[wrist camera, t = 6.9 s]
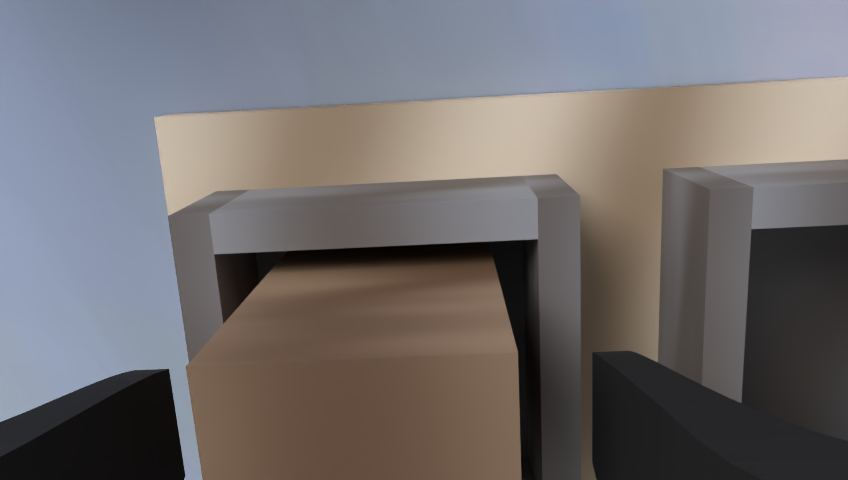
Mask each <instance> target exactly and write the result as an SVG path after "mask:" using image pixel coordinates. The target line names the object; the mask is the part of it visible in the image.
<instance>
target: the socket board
mask: <svg viewBox="0 0 848 480" xmlns="http://www.w3.org/2000/svg"><path fill="white" fill-rule="evenodd" d="M154 121H155V127H156V134H157V141H158V148H159V155H160V162H161V169H162V176H163V182H164V189H165V196H166V203H167V210H168V220H169V227H170V234H171V241H172V248H173V255H174V262H175V268H176V275H177V282H178V289H179V296H180V303H181V310H182V316H183V323H184V330H185V337H186V344H187V351H188V358H189V362H190V361H191V360H192V359H193V358H194V357H195V356H196V355H197V353H198V352H199V351H200V350H201V349H202V348H203V347H204V345H205V344H206V343H207V342H208V341H209V340H210V339H211V337H212V336H213V335H214V334H215V333H216V332H217V331H218V330H219V328H220V327H221V326H222V325H223V324H224V323H225V322H226V320H227V319H228V318H229V317H230V316H231V315H232V314H233V312H234V311H235V310H236V309H237V308H238V307H239V306H240V305H241V303H242V302H243V301H244V300H245V299H246V298H247V297H248V295H249V294H250V293H251V292H252V291H253V290H254V289H255V288H256V286H257V285H258V284H259V283H260V282H261V281H262V280H263V278H264V277H265V276H266V275H267V274H268V273H269V272H270V270H271V269H272V268H273V267H274V266H275V265H276V264H277V263H278V261H279V260H280V259H281V258H282V257H283V256H284V255H285V253H286V252H287V251H296V250H318V249H339V248H360V247H382V246H403V245H424V244H446V243H467V242H488V241H489V244H490V248H491V251H492V255H493V259H494V263H495V267H496V270H497V274H498V278H499V282H500V286H501V290H502V293H503V297H504V301H505V305H506V309H507V313H508V316H509V320H510V324H511V328H512V332H513V335H514V339H515V343H516V347H517V351H518V371H519V408H520V444H521V480H596V476H595V472H594V468H593V464H592V352H609V351H632V352H636V353H638V354H641V355H643V356H645V357H647V358H649V359H651V360H654V361H656V362H658V363H660V364H662V365H664V366H665V367H667V368H669V369H671V370H673V371H675V372H677V373H679V374H681V375H683V376H685V377H687V378H689V379H691V380H693V381H695V382H697V383H699V384H701V385H703V386H705V387H707V388H709V389H711V390H713V391H715V392H717V393H720V394H722V395H724V396H726V397H728V398H730V399H733V400H735V401H737V402H740V403H742V404H744V405H747V406H749V407H751V408H754V409H756V410H758V411H761V412H763V413H766V414H768V415H771V416H773V417H776V418H779V419H781V420H784V421H787V422H790V423H793V424H796V425H799V426H802V427H805V428H808V429H811V430H814V431H817V432H819V433H822V434H826V435H829V436H832V437H836V438H839V439H843V440H846V441H848V77H833V78H815V79H797V80H779V81H761V82H743V83H725V84H707V85H689V86H671V87H653V88H635V89H617V90H599V91H581V92H563V93H545V94H527V95H509V96H491V97H473V98H455V99H437V100H419V101H401V102H383V103H365V104H347V105H329V106H311V107H293V108H275V109H257V110H239V111H221V112H203V113H185V114H171V115H164V116H158V117H154Z"/></svg>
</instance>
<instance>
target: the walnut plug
mask: <svg viewBox="0 0 848 480" xmlns="http://www.w3.org/2000/svg"><path fill="white" fill-rule="evenodd" d="M186 370H187V377H188V384H189V391H190V397H191V404H192V411H193V417H194V424H195V431H196V437H197V444H198V451H199V458H200V464H201V471H202V478H203V480H521V444H520V408H519V371H518V351H517V347H516V343H515V339H514V335H513V332H512V328H511V324H510V320H509V316H508V313H507V309H506V305H505V301H504V297H503V293H502V290H501V286H500V282H499V278H498V274H497V270H496V267H495V263H494V259H493V255H492V251H491V248H490V244H489V241H488V242H467V243H446V244H424V245H403V246H382V247H360V248H339V249H318V250H296V251H287V252H286V253H285V255H284V256H283V257H282V258H281V259H280V260H279V261H278V263H277V264H276V265H275V266H274V267H273V268H272V269H271V270H270V272H269V273H268V274H267V275H266V276H265V277H264V278H263V280H262V281H261V282H260V283H259V284H258V285H257V286H256V288H255V289H254V290H253V291H252V292H251V293H250V294H249V295H248V297H247V298H246V299H245V300H244V301H243V302H242V303H241V305H240V306H239V307H238V308H237V309H236V310H235V311H234V312H233V314H232V315H231V316H230V317H229V318H228V319H227V320H226V322H225V323H224V324H223V325H222V326H221V327H220V328H219V330H218V331H217V332H216V333H215V334H214V335H213V336H212V337H211V339H210V340H209V341H208V342H207V343H206V344H205V345H204V347H203V348H202V349H201V350H200V351H199V352H198V353H197V355H196V356H195V357H194V358H193V359H192V360H191V361H190V362H189V364H188V365H187V366H186Z"/></svg>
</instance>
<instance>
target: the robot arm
mask: <svg viewBox="0 0 848 480" xmlns="http://www.w3.org/2000/svg"><path fill="white" fill-rule="evenodd" d="M592 464H593V468H594V472H595V476H596V480H848V441H846V440H843V439H839V438H836V437H832V436H829V435H826V434H822V433H819V432H817V431H814V430H811V429H808V428H805V427H802V426H799V425H796V424H793V423H790V422H787V421H784V420H781V419H779V418H776V417H773V416H771V415H768V414H766V413H763V412H761V411H758V410H756V409H754V408H751V407H749V406H747V405H744V404H742V403H740V402H737V401H735V400H733V399H730V398H728V397H726V396H724V395H722V394H720V393H717V392H715V391H713V390H711V389H709V388H707V387H705V386H703V385H701V384H699V383H697V382H695V381H693V380H691V379H689V378H687V377H685V376H683V375H681V374H679V373H677V372H675V371H673V370H671V369H669V368H667V367H665V366H664V365H662V364H660V363H658V362H656V361H654V360H651V359H649V358H647V357H645V356H643V355H641V354H638V353H636V352H632V351H609V352H592ZM184 478H185V471H184V465H183V458H182V452H181V445H180V439H179V432H178V426H177V419H176V413H175V406H174V400H173V393H172V387H171V380H170V374H169V369H158V370H134V371H130V372H125V373H121V374H118V375H115V376H112V377H109V378H106V379H104V380H101V381H99V382H96V383H94V384H91V385H89V386H86V387H84V388H81V389H79V390H76V391H74V392H72V393H69V394H67V395H65V396H62V397H60V398H58V399H55V400H53V401H51V402H48V403H46V404H44V405H41V406H39V407H37V408H34V409H32V410H30V411H27V412H25V413H22V414H20V415H17V416H15V417H12V418H10V419H7V420H5V421H2V422H0V480H184Z"/></svg>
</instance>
